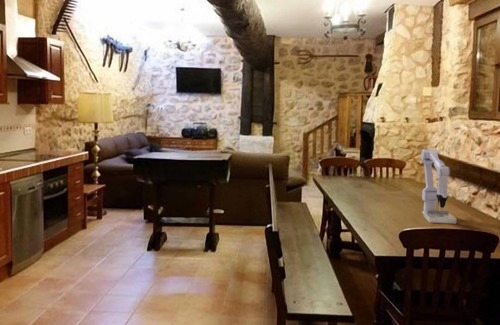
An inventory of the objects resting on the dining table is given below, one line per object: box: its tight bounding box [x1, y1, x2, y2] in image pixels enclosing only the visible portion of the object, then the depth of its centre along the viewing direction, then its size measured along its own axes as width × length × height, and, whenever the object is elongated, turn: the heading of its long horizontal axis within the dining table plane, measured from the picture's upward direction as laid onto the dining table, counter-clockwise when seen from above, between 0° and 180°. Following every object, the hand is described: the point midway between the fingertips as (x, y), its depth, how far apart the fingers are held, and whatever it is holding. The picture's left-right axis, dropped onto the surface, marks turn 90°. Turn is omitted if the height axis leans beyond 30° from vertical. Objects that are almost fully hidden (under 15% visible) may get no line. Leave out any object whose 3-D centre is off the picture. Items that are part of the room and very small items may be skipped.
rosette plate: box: [423, 209, 458, 225], centre depth 312 cm, size 18×16×5 cm
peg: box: [438, 201, 447, 211], centre depth 309 cm, size 3×3×7 cm
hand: (441, 206), depth 309 cm, fingers closed on peg, 3 cm apart
